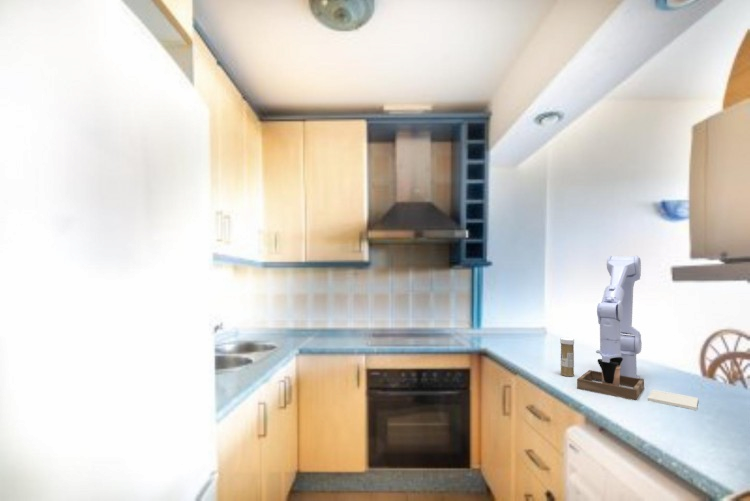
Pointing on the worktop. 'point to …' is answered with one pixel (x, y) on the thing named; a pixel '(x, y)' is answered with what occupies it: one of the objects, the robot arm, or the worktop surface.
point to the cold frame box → (623, 392)
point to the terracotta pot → (616, 377)
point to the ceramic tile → (673, 399)
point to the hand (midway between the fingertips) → (610, 380)
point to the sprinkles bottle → (567, 356)
